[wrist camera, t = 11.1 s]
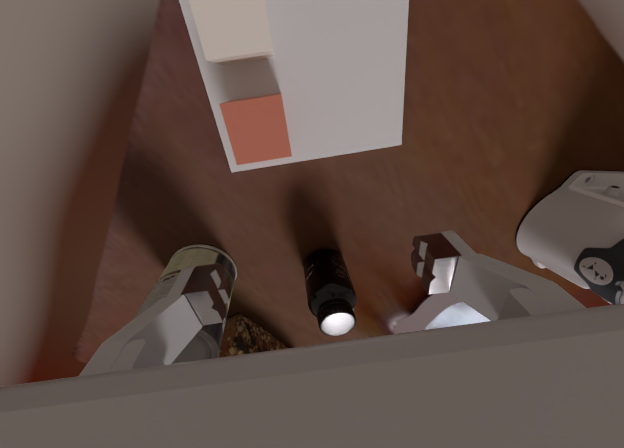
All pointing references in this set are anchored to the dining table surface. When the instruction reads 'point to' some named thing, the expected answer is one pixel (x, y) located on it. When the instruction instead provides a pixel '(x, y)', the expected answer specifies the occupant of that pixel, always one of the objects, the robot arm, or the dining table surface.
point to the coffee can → (190, 256)
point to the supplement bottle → (330, 292)
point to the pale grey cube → (233, 30)
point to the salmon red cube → (257, 128)
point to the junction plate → (321, 75)
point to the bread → (246, 338)
